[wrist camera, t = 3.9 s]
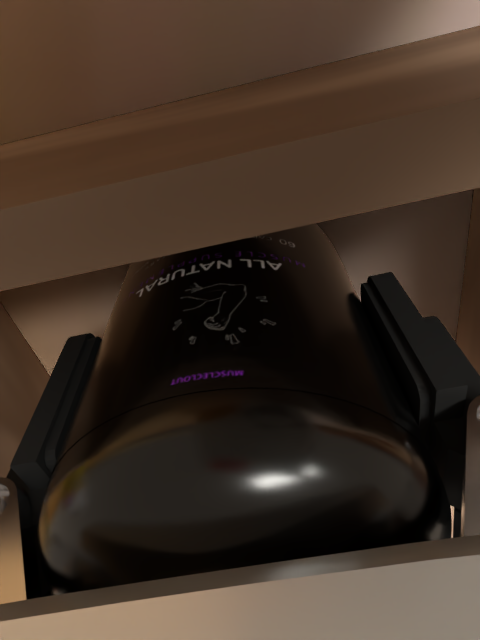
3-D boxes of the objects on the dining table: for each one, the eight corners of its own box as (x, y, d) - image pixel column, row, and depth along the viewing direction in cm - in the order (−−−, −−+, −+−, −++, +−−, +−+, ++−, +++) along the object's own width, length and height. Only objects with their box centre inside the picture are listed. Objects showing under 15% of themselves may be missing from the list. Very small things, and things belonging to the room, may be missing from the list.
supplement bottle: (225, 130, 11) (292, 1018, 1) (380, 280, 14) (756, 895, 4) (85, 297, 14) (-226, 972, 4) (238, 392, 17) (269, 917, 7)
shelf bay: (481, 379, 17) (588, 527, 12) (71, 452, 18) (19, 609, 14) (547, 8, 10) (874, 5, 5) (-131, 177, 11) (-394, 302, 6)
